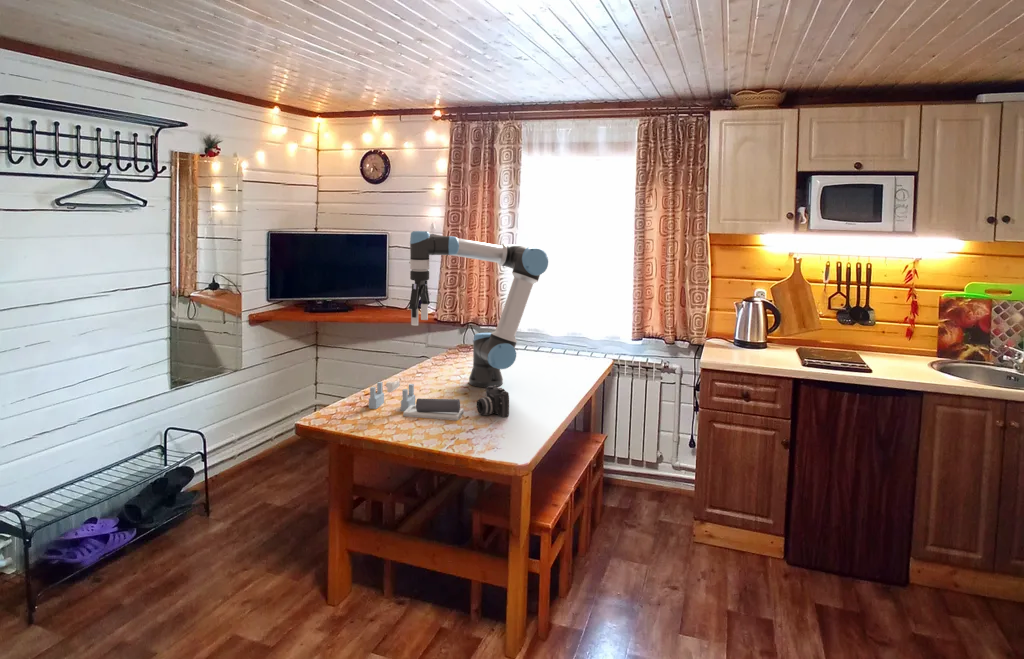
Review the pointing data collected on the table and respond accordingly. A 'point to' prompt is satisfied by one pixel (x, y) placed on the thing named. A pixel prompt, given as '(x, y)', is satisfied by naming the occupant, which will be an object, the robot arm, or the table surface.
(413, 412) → the tray
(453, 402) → the gray cylinder
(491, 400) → the camera
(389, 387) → the white l-shaped hook
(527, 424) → the table surface
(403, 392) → the cradle
